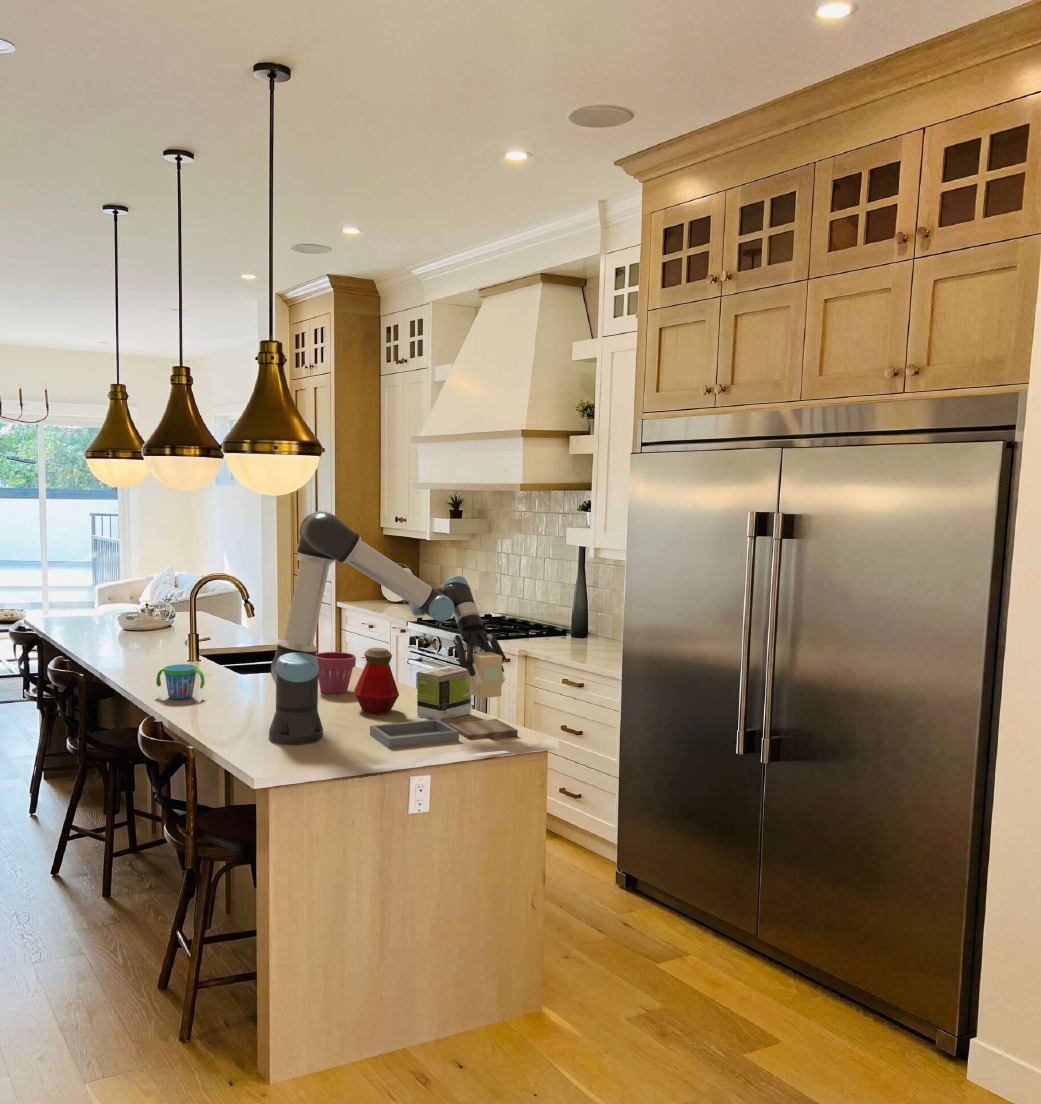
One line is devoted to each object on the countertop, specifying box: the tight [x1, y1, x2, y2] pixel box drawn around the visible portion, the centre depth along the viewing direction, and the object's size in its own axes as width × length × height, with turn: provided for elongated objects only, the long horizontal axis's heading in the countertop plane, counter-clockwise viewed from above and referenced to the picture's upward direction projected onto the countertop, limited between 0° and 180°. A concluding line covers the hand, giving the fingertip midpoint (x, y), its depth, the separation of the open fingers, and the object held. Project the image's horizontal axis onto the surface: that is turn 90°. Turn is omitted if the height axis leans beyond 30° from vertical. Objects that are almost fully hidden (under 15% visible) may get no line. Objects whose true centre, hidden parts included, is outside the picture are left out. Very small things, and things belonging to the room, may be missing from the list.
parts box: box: [470, 651, 503, 699], centre depth 286 cm, size 7×7×12 cm
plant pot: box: [316, 651, 357, 695], centre depth 335 cm, size 14×14×13 cm
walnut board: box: [448, 718, 519, 740], centre depth 287 cm, size 16×14×2 cm
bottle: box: [353, 647, 400, 715], centre depth 309 cm, size 16×14×20 cm
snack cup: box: [155, 663, 205, 700], centre depth 318 cm, size 16×10×10 cm
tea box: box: [416, 665, 472, 721], centre depth 307 cm, size 15×10×15 cm, turn 141°
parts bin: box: [369, 718, 460, 750], centre depth 277 cm, size 21×15×4 cm
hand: (490, 683), depth 283 cm, fingers closed on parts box, 7 cm apart
